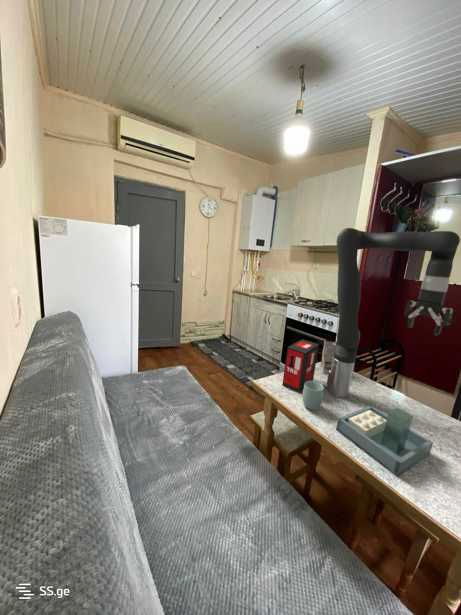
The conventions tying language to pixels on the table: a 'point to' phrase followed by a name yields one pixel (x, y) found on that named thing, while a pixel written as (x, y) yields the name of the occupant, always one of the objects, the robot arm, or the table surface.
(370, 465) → the table surface
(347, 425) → the tray
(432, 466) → the table surface
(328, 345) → the coffee box
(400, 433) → the tea tin
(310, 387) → the cup
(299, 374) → the cleaning product box
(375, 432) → the egg carton
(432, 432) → the table surface
